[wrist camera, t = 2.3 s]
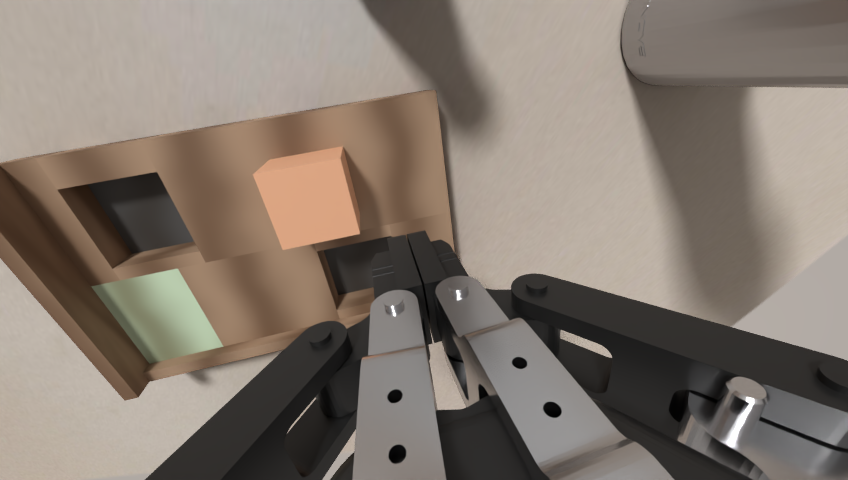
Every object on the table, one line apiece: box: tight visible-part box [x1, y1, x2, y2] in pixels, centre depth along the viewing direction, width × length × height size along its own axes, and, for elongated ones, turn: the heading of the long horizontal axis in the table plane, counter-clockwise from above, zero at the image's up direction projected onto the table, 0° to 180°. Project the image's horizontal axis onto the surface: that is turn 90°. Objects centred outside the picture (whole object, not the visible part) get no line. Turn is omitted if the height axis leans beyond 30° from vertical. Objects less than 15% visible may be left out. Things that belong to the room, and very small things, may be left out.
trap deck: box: [0, 90, 455, 400], centre depth 25 cm, size 28×18×5 cm, turn 98°
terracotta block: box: [253, 146, 360, 250], centre depth 22 cm, size 5×5×4 cm
